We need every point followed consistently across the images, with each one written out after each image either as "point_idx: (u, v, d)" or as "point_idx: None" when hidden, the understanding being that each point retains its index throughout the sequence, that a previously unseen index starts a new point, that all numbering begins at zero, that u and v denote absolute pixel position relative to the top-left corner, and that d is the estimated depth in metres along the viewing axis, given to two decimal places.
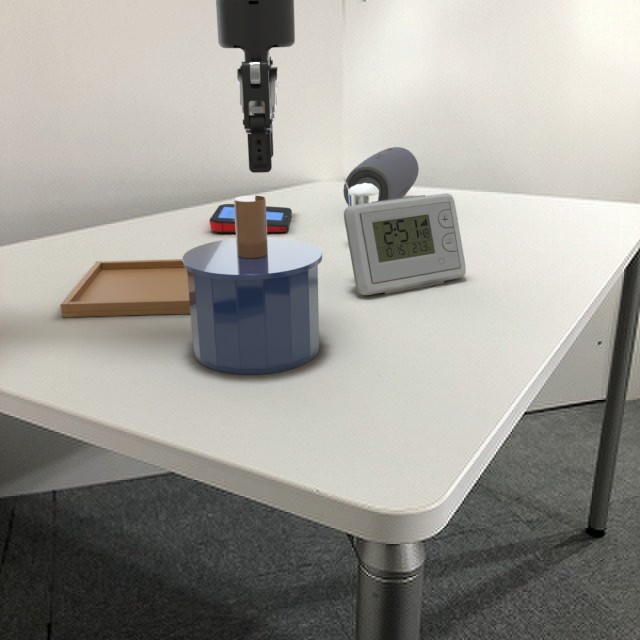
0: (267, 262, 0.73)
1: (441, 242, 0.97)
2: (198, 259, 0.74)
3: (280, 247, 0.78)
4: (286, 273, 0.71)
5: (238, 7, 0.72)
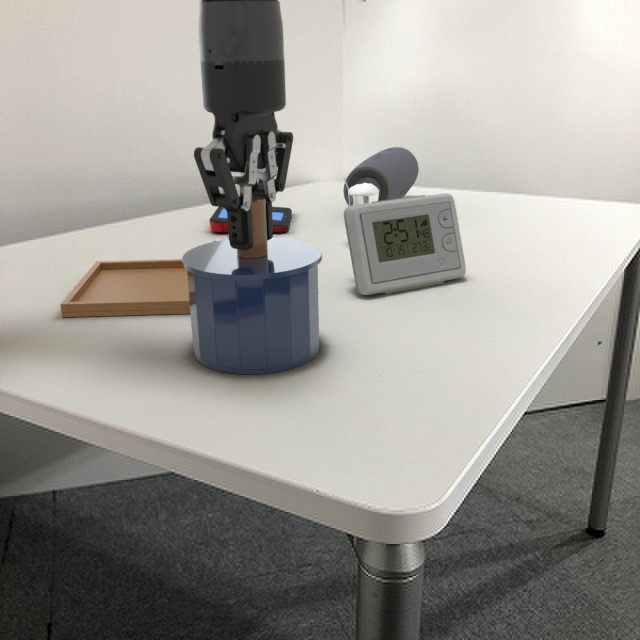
0: (267, 262, 0.73)
1: (441, 242, 0.97)
2: (198, 259, 0.74)
3: (280, 247, 0.78)
4: (286, 273, 0.71)
5: (207, 71, 0.68)
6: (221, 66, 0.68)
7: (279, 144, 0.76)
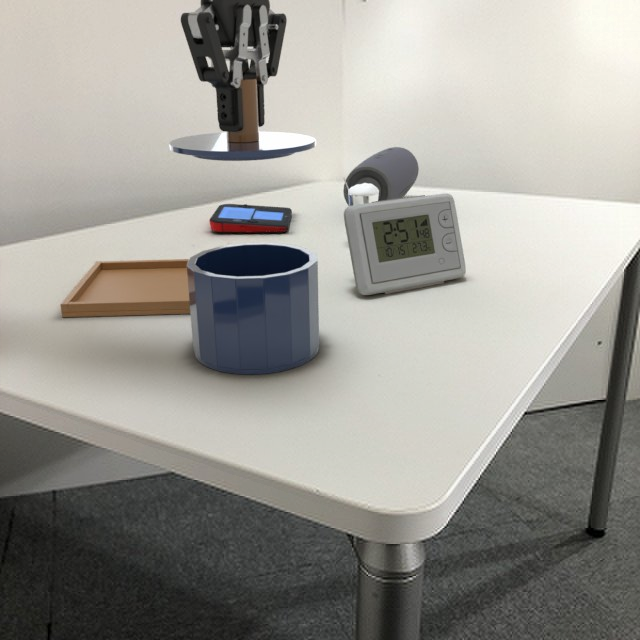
0: (258, 145, 0.70)
1: (441, 242, 0.97)
2: (186, 143, 0.71)
3: (273, 137, 0.75)
4: (277, 151, 0.67)
5: None
6: None
7: (271, 25, 0.72)
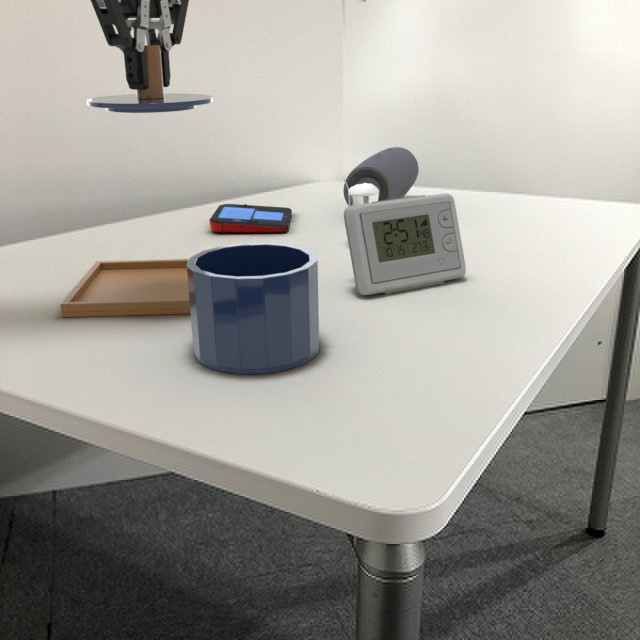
0: (159, 100, 0.83)
1: (441, 242, 0.97)
2: (101, 99, 0.84)
3: (178, 96, 0.88)
4: (173, 104, 0.80)
5: None
6: None
7: (175, 0, 0.86)
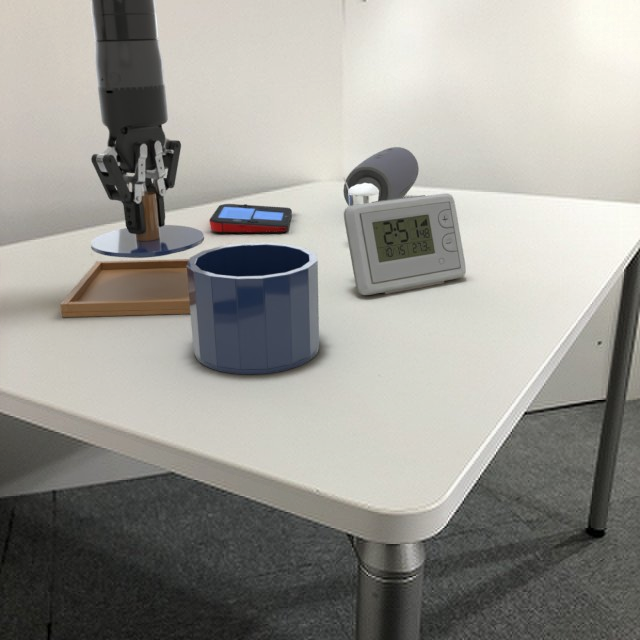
0: (156, 244, 0.92)
1: (441, 242, 0.97)
2: (103, 242, 0.94)
3: (173, 232, 0.98)
4: (168, 252, 0.90)
5: (101, 95, 0.87)
6: (112, 91, 0.87)
7: (168, 150, 0.95)
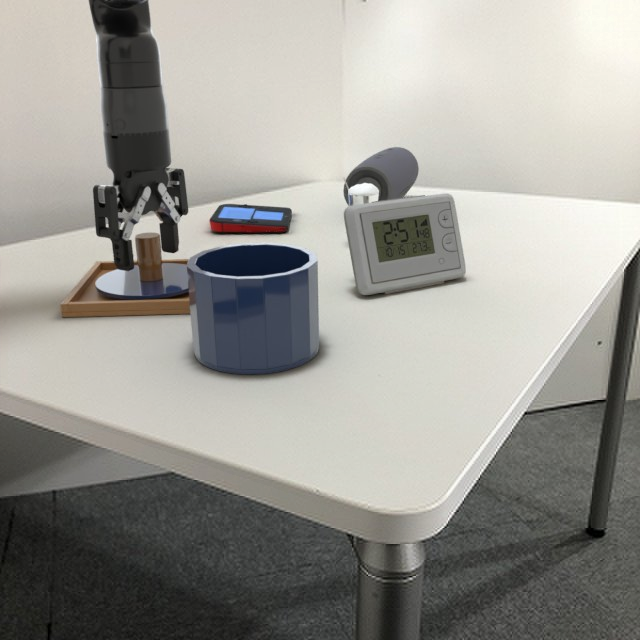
0: (159, 285, 0.94)
1: (441, 242, 0.97)
2: (108, 282, 0.96)
3: (176, 272, 0.99)
4: (171, 294, 0.92)
5: (107, 139, 0.89)
6: (117, 135, 0.89)
7: (173, 182, 0.97)
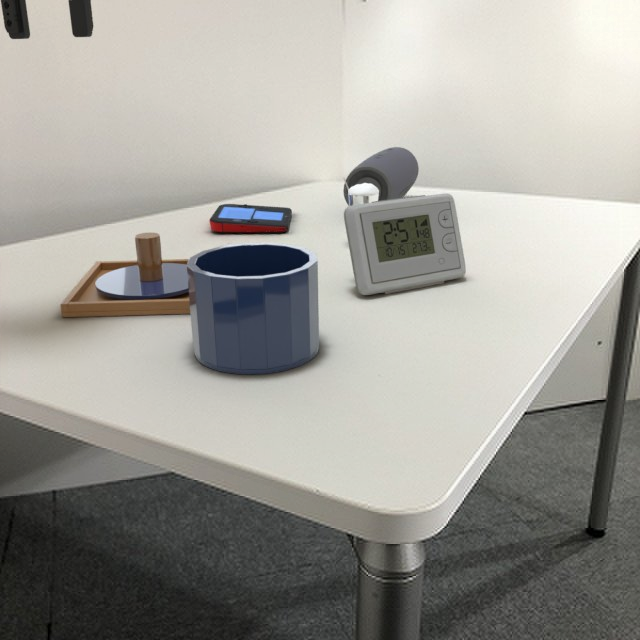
0: (159, 285, 0.94)
1: (441, 242, 0.97)
2: (108, 282, 0.96)
3: (176, 272, 0.99)
4: (171, 294, 0.92)
5: None
6: None
7: None
